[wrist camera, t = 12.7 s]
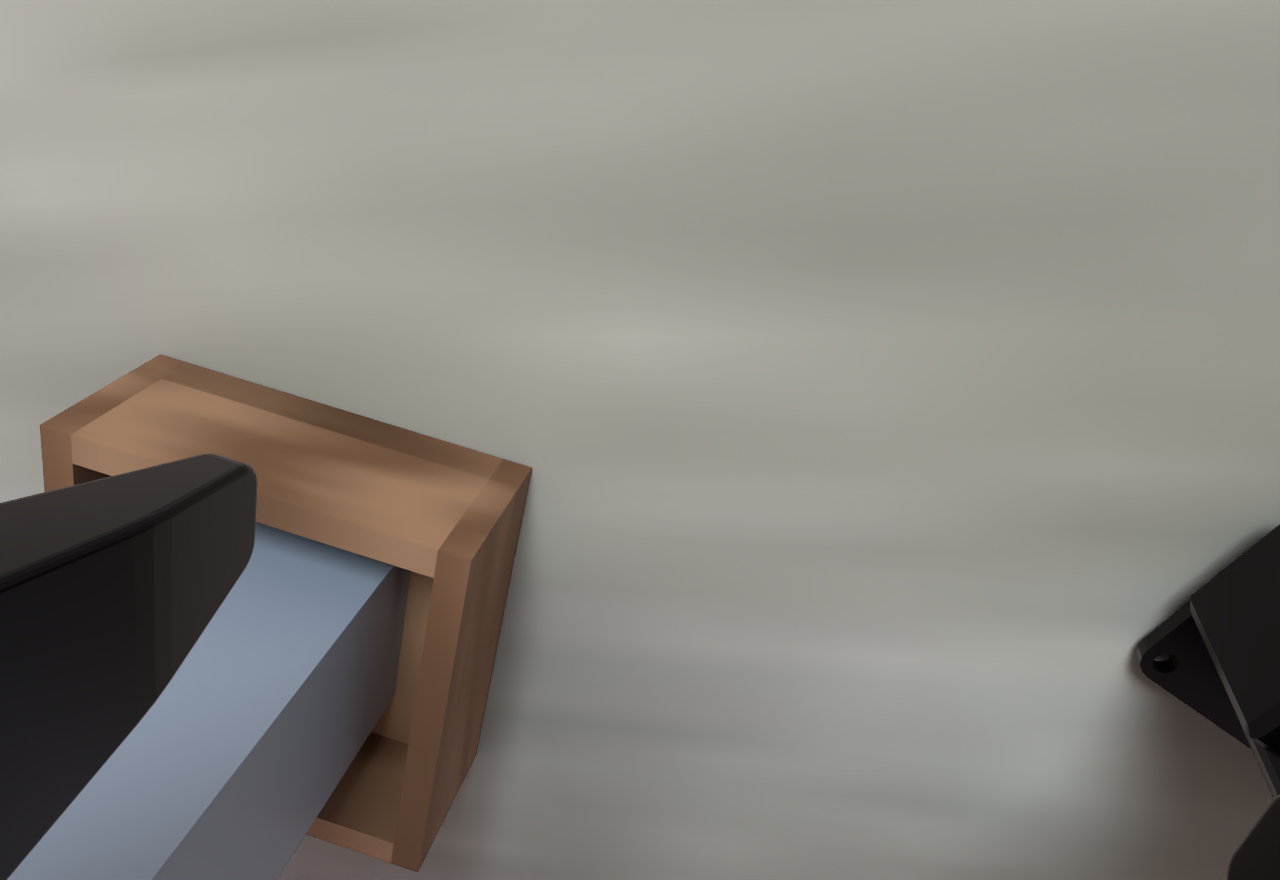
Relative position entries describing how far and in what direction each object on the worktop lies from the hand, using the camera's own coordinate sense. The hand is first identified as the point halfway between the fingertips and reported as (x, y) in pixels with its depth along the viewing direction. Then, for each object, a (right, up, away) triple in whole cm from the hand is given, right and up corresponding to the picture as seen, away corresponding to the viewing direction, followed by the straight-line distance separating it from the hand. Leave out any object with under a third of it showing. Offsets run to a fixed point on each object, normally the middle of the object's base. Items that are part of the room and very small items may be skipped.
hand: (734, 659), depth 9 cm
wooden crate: (-9, -1, +18) cm, 20 cm away
